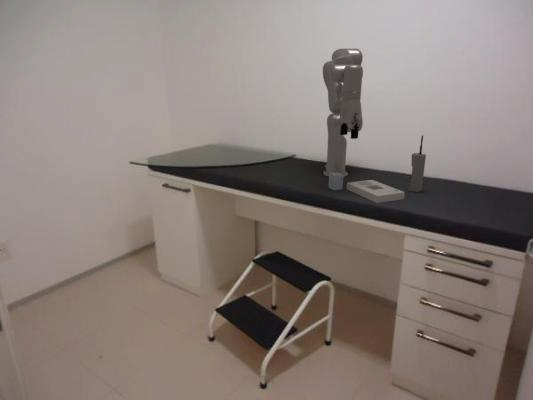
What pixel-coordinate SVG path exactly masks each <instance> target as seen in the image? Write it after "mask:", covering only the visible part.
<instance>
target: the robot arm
mask: <svg viewBox="0 0 533 400" xmlns="http://www.w3.org/2000/svg"><path fill="white" fill-rule="evenodd" d="M362 63H363V53H362V50H360V49H359V48H338V49H336V50H335V51H334V52H332V55H331V60H329V61H326V62H325V63H324V64H323V66H322V76H323V77H322V79H323V82H324V85H325V87H326V89H327V100H328V101H327V103H328V109H329V111H330V113H331V114H329V115H328V116H327V119H326V126H327V127H326V128H327V151H326V152H327V153H326V154H327V155H326V164H325V165H324V169H325V170H324V171H323V173H322V174H323V175H324V176H325V177H328V178H329V173H336V172H338V173H341V174H343V178H345V177H347V176H348V175H349V173H348V172H347V171H346V161H347V160H346V159H347V146H348V145H347V144H348V141H347V139H346V137H345V136H347V135H348V133H350V139H351V140H356V139H359V132H360V131H361V130H362V129H363V126H364V125H363V123H364V122H363V112H362V103H361V99H362V84H363V83H362V82H363V75H364V70H363V68H364V67H362Z"/></svg>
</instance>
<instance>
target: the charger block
mask: <svg viewBox="0 0 533 400" xmlns="http://www.w3.org/2000/svg"><path fill="white" fill-rule="evenodd" d="M343 185H344V177H343V174H341V173H338V172H336V173H329V177H328V189H330V190H332V191H342V190H343Z"/></svg>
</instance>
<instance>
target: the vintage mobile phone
mask: <svg viewBox="0 0 533 400" xmlns="http://www.w3.org/2000/svg"><path fill="white" fill-rule="evenodd" d="M420 139H421V140H420V146H419V152H414V153H412V154H411V167H412V168H411V179H410V184H409V186H408V188H407V191H409V192H414V193H419V192H421V191H422V189H423V182H424V174H425V166H426V158H427V154H425V153H423V152H422V151H423V141H424V135H421V138H420Z"/></svg>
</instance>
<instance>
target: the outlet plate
mask: <svg viewBox="0 0 533 400" xmlns="http://www.w3.org/2000/svg"><path fill="white" fill-rule="evenodd" d="M346 190H347V191H350V192H352V193H354V194H356V195H359V196H361V197H363V198H365V199H367V200H369V201H371V202H374V203H376V204H379V203H386V202H393V201H399V200H405V194H406V193H405V191H402V190H400V189H397V188H395V187H392V186H389V185H387V184H385V183H381V182H379V181H376V180H373V179H369V180H367V179H366V180H359V181H352V182H347V183H346Z"/></svg>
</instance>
